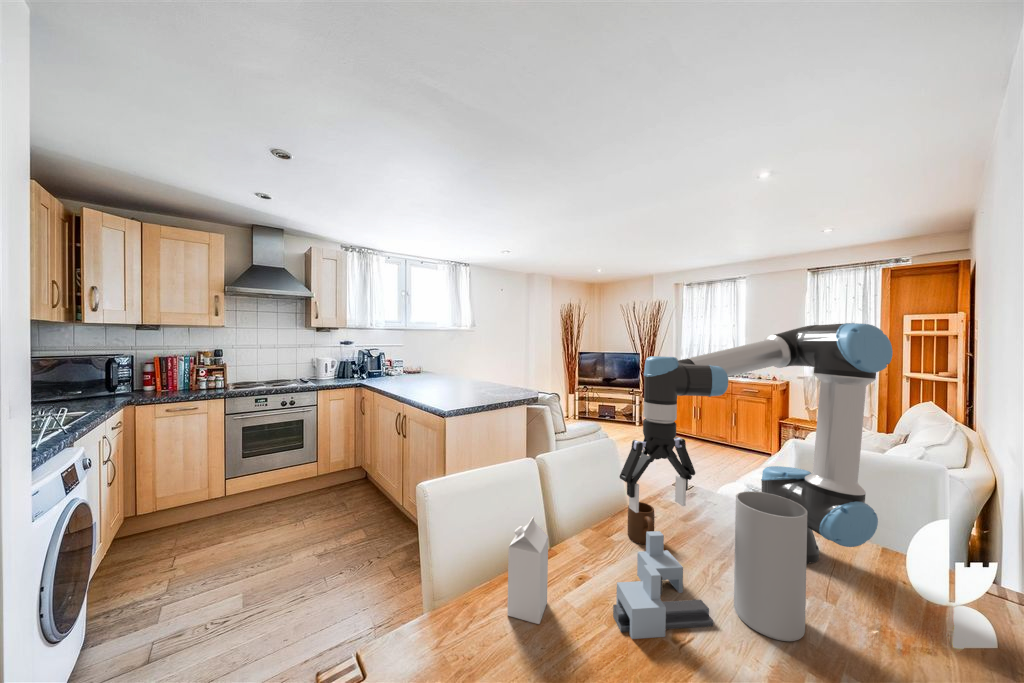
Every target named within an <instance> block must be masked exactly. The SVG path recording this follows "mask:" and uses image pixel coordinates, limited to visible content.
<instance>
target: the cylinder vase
mask: <svg viewBox="0 0 1024 683" xmlns="http://www.w3.org/2000/svg"><path fill="white" fill-rule="evenodd" d="M734 515H735V517H734V518H735V521H734V524H735V526H734V567H733V568H734V569H733V570H734V571H733V572H734V574H733V575H734V576H733V578H734V579H733V608H734V610H735V612H736V615H737V616H738V617H739V619H740V620H741V621H742V622H743V623H744V624H746V625H747V626H748V627H749V628H751V630H754V631H756V632H757V633H759V634H761V635H763V636H765V637H768V638H769V639H774V640H777V641H778V640H779V641H783V642H793V641H795V642H796V641H798V640H800V639H802V638H803V637H804V635H805V633H806V606H807V605H806V603H807V600H806V598H807V596H806V595H807V563H806V559H807V510H806V509H805V508H804V507H803V506H802V505H800V504H798V503H796V502H794V501H792V500H790V499H787V498H784V497H781V496H777V495H773V494H769V493H763V492H762V491H749V490H748V491H741V492H738V493H736V495H735V514H734Z"/></svg>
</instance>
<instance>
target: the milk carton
mask: <svg viewBox="0 0 1024 683" xmlns="http://www.w3.org/2000/svg"><path fill="white" fill-rule="evenodd" d="M514 534H515V536H514V537H513V539H512V540H511V543H510V544H509V545H508V555H507V556H508V558H507V559H508V563H507V565H508V566H507V568H508V569H507V572H508V573H507V575H508V576H507V616H508V617H511V618H515V619H519V620H521V621H525V622H529V623H533V624H536V625H540V624H541V622H542V618H543V615H544V612H545V610H546V607H547V604H548V580H549V579H548V576H549V575H548V574H549V573H548V572H549V571H548V570H549V568H548V565H549V535H548V534H547V533H546V532H545V531H544V530H543V529H542V528H541V526H540V525H539V524H538V523H537V522H536V521H535V516H534V515H533V516H532V517H531V519H530V520H529V522H528V523H527V524H526V525H525V526H523V525H519V526H518V527H517V528H516V529H515V530H514Z"/></svg>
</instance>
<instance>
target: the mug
mask: <svg viewBox="0 0 1024 683" xmlns="http://www.w3.org/2000/svg"><path fill="white" fill-rule="evenodd" d="M650 531H655V508H654V507H653V506H652V505H650V504H648V503H646V502H640V501H639V512H638V513H635V512H634V511H633V510H631V509H630V508H629V504H628V506H627V536H628V538H629V540H631V541H633V542H634V543H637V544H640V545H646V532H650Z"/></svg>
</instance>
